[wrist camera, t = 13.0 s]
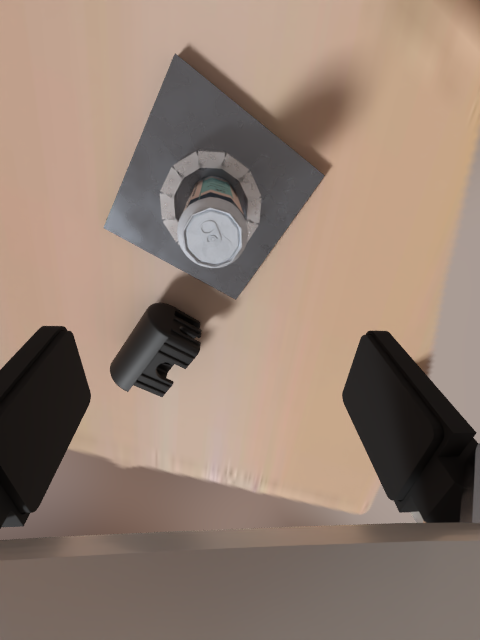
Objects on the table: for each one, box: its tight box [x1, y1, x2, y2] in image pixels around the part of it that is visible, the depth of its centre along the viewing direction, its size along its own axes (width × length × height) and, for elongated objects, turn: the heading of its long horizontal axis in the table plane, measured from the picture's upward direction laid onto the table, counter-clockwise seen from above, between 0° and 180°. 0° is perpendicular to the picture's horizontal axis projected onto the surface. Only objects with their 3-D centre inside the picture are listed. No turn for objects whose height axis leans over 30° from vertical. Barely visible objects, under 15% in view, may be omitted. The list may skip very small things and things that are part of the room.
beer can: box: [177, 176, 248, 268], centre depth 24 cm, size 5×5×12 cm
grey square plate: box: [104, 54, 325, 299], centre depth 28 cm, size 16×16×4 cm
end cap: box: [110, 303, 201, 397], centre depth 36 cm, size 10×7×7 cm
